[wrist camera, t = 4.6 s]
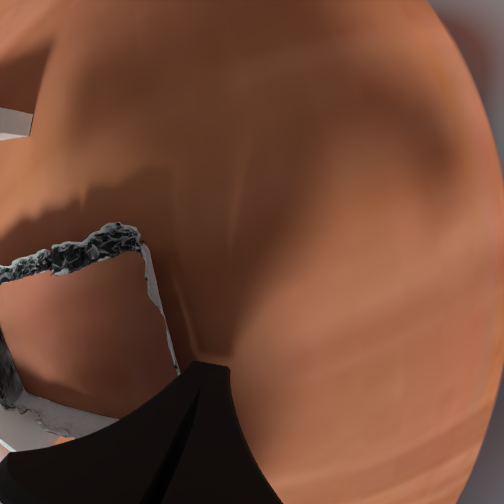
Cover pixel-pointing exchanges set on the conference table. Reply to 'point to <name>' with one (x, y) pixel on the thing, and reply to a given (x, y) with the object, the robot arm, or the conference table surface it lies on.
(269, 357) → the conference table surface
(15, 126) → the box
